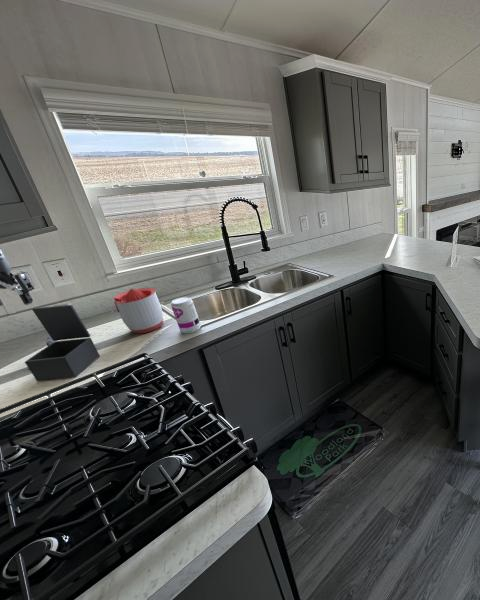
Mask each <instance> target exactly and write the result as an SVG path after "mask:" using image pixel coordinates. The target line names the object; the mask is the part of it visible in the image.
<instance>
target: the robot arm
mask: <svg viewBox="0 0 480 600" xmlns="http://www.w3.org/2000/svg"><path fill="white" fill-rule="evenodd" d="M1 289H2V290H7V289H8V290H9V291H13V292H15V293H17V294H18V295H19V298H20V299H21V301H22V304H24V305H25V306H26V305H28V306H29V305H31V304H32V303H33V301H34V300H33V298H32V296H31V293H30V291H32V290H34V289H35V287H34V285H33V284H32V282H31V280H30V278H29V277H28V275H27V274H26V272H19V273H13V272H12V266H11V264H10V263H9V260H8V259H7V257H6V256H5V254H4V252H3V251H2V249H1V248H0V290H1ZM3 305H4V303H3V301H2V299H0V307H2V306H3Z"/></svg>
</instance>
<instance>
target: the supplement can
mask: <svg viewBox="0 0 480 600" xmlns="http://www.w3.org/2000/svg"><path fill="white" fill-rule="evenodd" d="M170 307H171V310H172V313H173V315H174V318H175V320H176V324H177V326H178V329H179V331H180V333H181V334H192V333H195V332H197V331H199V330H200V328H201V327H202V325H201V322H200V318H199V315H198V313H197V310H196V307H195V304H194V301H193V300H192V298H190V296H180V297H177V298H175V299H173V300H172V301H171V305H170ZM196 330H197V331H196ZM194 331H195V332H194ZM190 332H191V333H190Z"/></svg>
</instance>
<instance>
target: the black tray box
mask: <svg viewBox="0 0 480 600" xmlns="http://www.w3.org/2000/svg"><path fill="white" fill-rule="evenodd" d="M100 357H101V355H100V353H99V352H98V349H97V347H96V345H95V343H94V341H93V340H92V338H91V337H87V338H77V339H67V340H57V341H53V343H52V344H50V345H49V346H45V348H43V349H41V350H40V351H39V352H37V353H36V354H34V355H32V356H31V357H30V358H28V359H26V360H25V361H24V364H25V365H26V366H27V368H28V370H29V371H30V373H31V374H32V376H33V378H34V379H35V380H36V382H46V381H56V380H65V379H72V378H77V377H78V376H79V375H81V374H82V373H83V372H84V371H85V370H86V369H87V368H88V367H89V366H91V365H92V364H93V363H94V362H95V361H96V360H98V359H99V358H100Z"/></svg>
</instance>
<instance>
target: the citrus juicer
mask: <svg viewBox="0 0 480 600" xmlns="http://www.w3.org/2000/svg"><path fill="white" fill-rule="evenodd" d="M157 295H158V294H157V293H156V289H155V288H152V287H141V288H130V289H129V290H128V291H124V292H122V293H119V294H117V295H115V296H114V297H113V299H114V306H113V307H112V308H111V309H112V310H111V313H116V312H117V313H118V314H119V317H120V319H121V320H122V322H123V323H124V325H125V326H126V327H127V328H128V329H129V330H130V331H131V332H132V333H134V334H138V335H141V334H145V333H149V332H152V331H156V330H158V329H159V328H160V327H162V325H163V324H164V314H163V309H162V306H161V303H160V300H159V298H158V296H157Z"/></svg>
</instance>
